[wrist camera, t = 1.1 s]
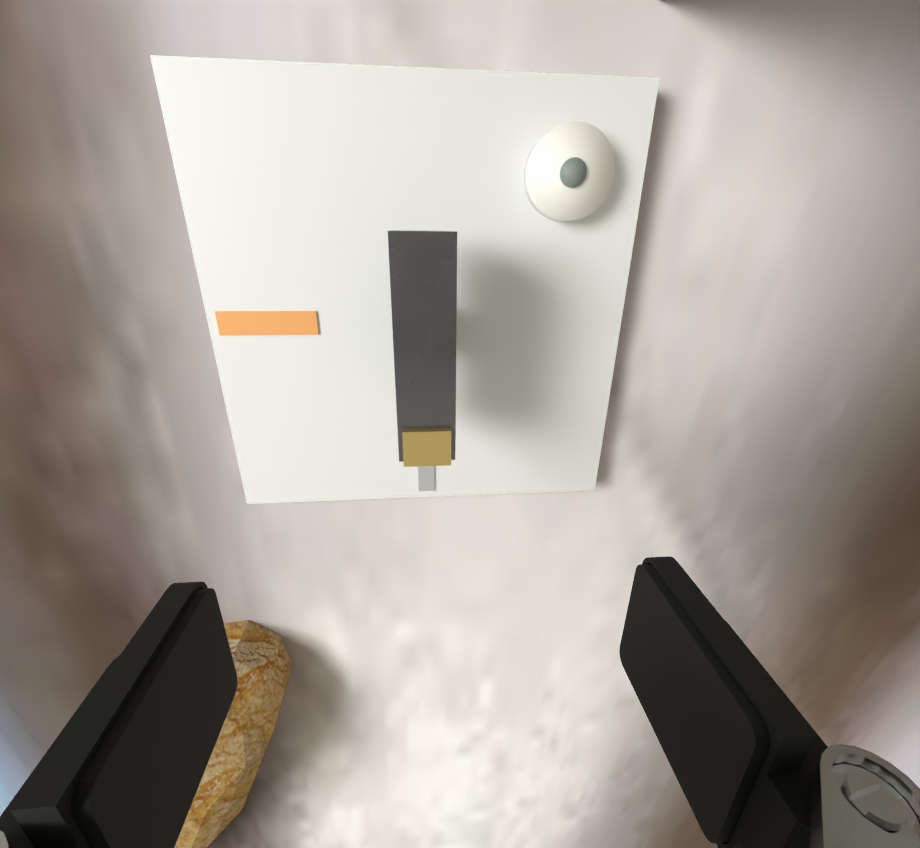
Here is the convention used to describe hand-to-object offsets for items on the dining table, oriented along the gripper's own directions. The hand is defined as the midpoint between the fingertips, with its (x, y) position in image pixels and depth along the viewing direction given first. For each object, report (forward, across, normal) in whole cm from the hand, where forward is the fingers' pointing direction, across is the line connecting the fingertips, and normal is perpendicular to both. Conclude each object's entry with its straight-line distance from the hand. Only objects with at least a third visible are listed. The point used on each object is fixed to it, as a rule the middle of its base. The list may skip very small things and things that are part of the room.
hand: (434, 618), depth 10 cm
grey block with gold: (+16, 0, -4) cm, 17 cm away
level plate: (+18, 0, -4) cm, 18 cm away
